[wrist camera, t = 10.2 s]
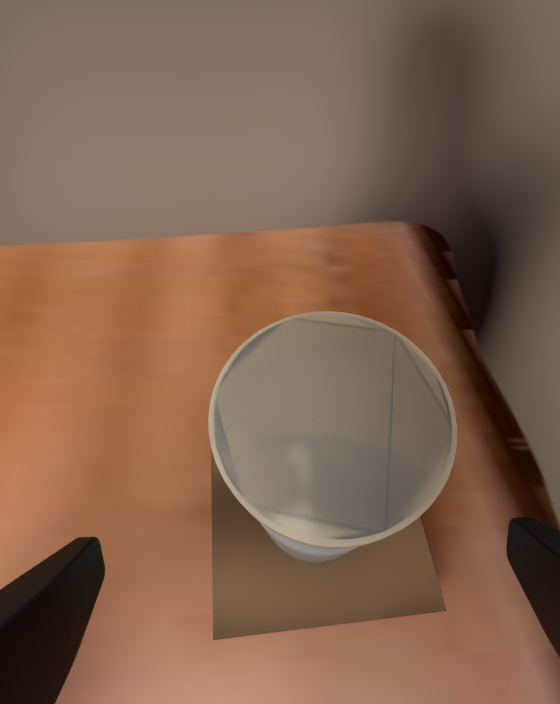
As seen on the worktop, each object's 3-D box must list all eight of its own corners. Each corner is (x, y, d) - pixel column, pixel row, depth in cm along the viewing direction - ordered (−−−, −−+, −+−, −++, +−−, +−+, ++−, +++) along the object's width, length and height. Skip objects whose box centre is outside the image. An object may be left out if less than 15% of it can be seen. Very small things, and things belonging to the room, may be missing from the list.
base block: (426, 606, 19) (446, 610, 16) (225, 631, 19) (213, 639, 16) (378, 417, 24) (387, 397, 21) (220, 435, 24) (210, 418, 21)
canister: (379, 560, 17) (496, 533, 7) (261, 570, 17) (204, 557, 7) (358, 444, 20) (419, 303, 10) (256, 453, 20) (211, 320, 10)
